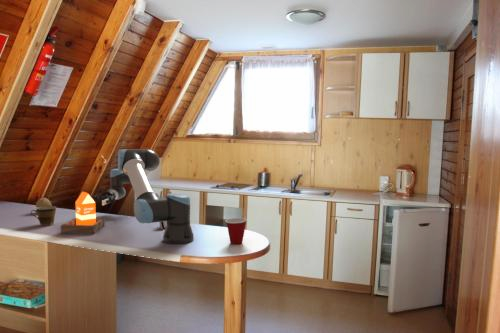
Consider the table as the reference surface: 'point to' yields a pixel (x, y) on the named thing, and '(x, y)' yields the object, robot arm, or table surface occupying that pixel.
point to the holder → (82, 227)
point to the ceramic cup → (45, 215)
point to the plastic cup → (236, 230)
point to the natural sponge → (43, 202)
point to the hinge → (163, 224)
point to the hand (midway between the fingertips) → (91, 202)
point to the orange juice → (85, 210)
